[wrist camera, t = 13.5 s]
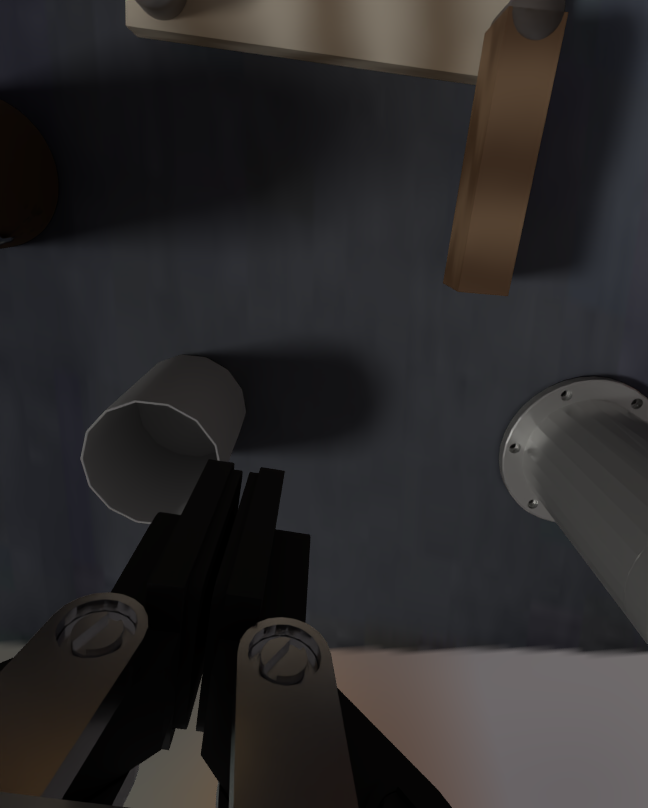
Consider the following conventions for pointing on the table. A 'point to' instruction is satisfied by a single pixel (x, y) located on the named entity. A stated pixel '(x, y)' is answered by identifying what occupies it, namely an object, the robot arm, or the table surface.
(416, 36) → the stool seat
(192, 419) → the cup
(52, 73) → the table surface
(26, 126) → the olive oil
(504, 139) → the folding leg
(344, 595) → the table surface
